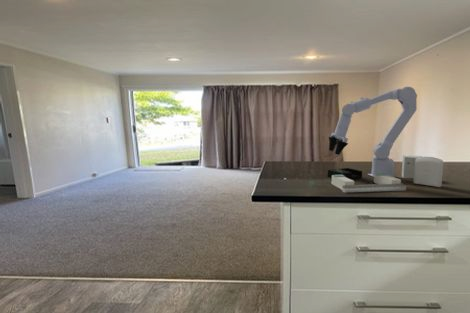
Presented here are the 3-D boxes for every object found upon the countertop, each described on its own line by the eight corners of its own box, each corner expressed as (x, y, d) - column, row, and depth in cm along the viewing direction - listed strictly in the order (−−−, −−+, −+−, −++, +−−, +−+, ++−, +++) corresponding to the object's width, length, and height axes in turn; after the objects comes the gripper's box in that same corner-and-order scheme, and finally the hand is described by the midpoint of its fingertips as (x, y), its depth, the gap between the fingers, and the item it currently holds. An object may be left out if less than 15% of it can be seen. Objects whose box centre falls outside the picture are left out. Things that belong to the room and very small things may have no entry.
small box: (419, 177, 132) (421, 155, 130) (422, 179, 127) (424, 157, 125) (401, 175, 135) (402, 155, 133) (403, 178, 130) (404, 156, 128)
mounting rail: (402, 189, 111) (403, 183, 110) (406, 190, 109) (406, 184, 108) (342, 191, 109) (342, 185, 108) (344, 192, 107) (344, 186, 106)
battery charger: (341, 181, 125) (342, 173, 125) (327, 177, 134) (327, 169, 134) (362, 179, 130) (362, 171, 130) (346, 175, 139) (347, 167, 138)
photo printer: (411, 183, 120) (414, 156, 118) (414, 182, 122) (417, 155, 120) (439, 188, 112) (442, 158, 110) (442, 186, 114) (445, 157, 113)
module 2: (382, 182, 122) (382, 172, 122) (400, 189, 111) (401, 178, 110) (373, 182, 122) (374, 172, 121) (391, 189, 110) (391, 179, 110)
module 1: (340, 183, 121) (340, 174, 120) (354, 190, 109) (354, 180, 108) (331, 183, 120) (331, 174, 120) (344, 191, 109) (345, 180, 108)
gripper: (329, 123, 144) (321, 147, 147) (341, 128, 130) (332, 154, 133) (341, 126, 145) (333, 150, 148) (354, 131, 131) (345, 157, 134)
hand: (333, 152), depth 141 cm, fingers open, 7 cm apart
